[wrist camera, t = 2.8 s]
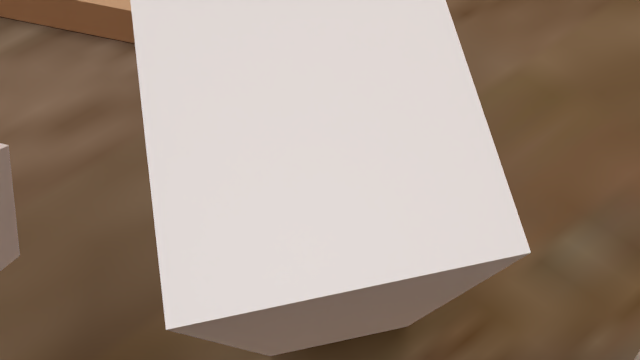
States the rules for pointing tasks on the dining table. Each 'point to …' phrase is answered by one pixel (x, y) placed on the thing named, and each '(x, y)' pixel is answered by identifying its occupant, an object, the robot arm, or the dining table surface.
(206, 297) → the white block
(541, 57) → the dining table surface
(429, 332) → the dining table surface
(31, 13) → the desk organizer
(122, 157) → the dining table surface
